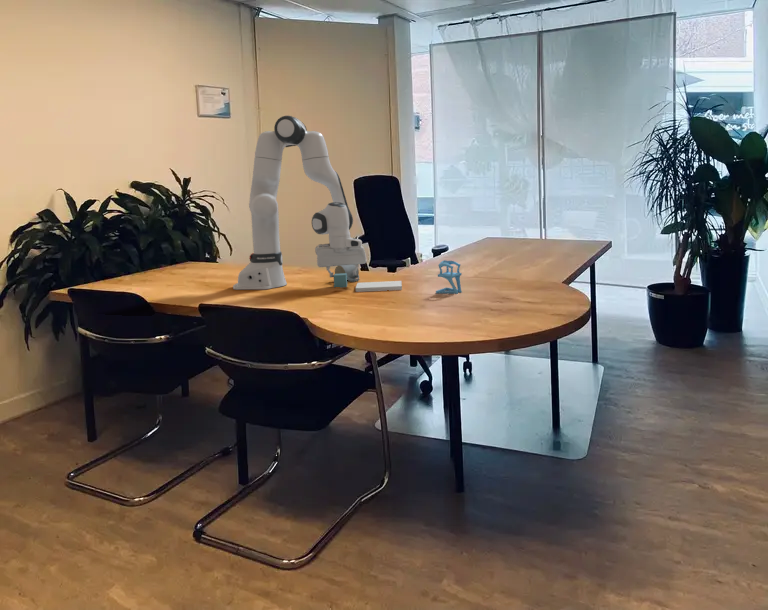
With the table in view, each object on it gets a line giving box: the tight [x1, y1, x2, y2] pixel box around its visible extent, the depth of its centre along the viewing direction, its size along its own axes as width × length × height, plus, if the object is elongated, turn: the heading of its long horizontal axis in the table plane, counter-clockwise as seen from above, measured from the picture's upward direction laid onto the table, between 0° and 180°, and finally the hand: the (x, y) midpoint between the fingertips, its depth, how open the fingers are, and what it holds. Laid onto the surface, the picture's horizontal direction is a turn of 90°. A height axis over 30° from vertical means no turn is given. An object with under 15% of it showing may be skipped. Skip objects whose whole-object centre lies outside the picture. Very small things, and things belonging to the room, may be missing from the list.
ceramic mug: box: [334, 265, 360, 283], centre depth 278 cm, size 11×8×8 cm
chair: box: [435, 259, 463, 295], centre depth 241 cm, size 8×8×12 cm
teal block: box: [333, 273, 348, 288], centre depth 266 cm, size 5×5×5 cm
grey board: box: [355, 280, 403, 293], centre depth 258 cm, size 18×12×2 cm, turn 89°
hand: (343, 276), depth 267 cm, fingers open, 8 cm apart
